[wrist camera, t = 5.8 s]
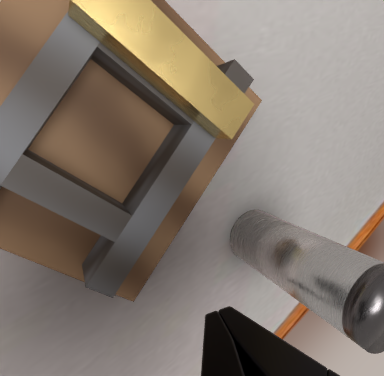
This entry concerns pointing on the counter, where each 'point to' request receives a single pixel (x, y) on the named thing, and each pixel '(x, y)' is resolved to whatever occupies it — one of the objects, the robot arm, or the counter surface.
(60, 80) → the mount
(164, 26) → the bar
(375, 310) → the metal canister
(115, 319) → the counter surface
